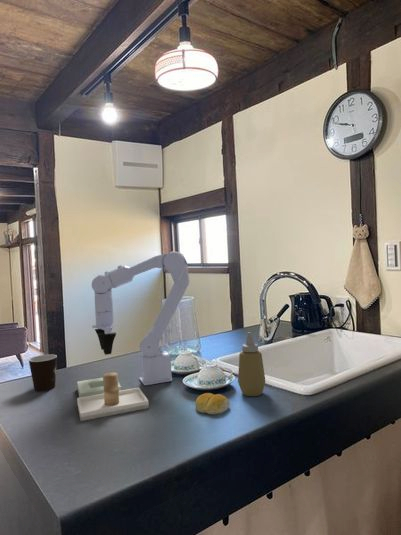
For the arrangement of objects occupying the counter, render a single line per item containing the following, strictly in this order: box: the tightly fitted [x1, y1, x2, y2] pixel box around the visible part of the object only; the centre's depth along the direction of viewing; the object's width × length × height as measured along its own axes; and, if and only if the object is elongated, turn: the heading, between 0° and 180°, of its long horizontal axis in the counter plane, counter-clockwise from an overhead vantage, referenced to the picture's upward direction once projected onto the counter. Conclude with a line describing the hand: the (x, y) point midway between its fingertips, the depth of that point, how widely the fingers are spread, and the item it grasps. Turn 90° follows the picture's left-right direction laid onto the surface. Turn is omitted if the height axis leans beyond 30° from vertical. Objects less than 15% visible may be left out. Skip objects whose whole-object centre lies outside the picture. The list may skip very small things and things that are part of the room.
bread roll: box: [195, 392, 231, 415], centre depth 104 cm, size 8×9×4 cm
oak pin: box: [102, 372, 119, 406], centre depth 109 cm, size 4×4×8 cm
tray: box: [76, 387, 150, 422], centre depth 109 cm, size 18×12×2 cm, turn 111°
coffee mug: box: [28, 354, 58, 393], centre depth 129 cm, size 12×9×10 cm
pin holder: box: [76, 377, 122, 398], centre depth 121 cm, size 12×12×2 cm
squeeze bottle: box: [237, 331, 266, 397], centre depth 114 cm, size 8×8×18 cm
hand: (106, 351), depth 130 cm, fingers open, 7 cm apart
